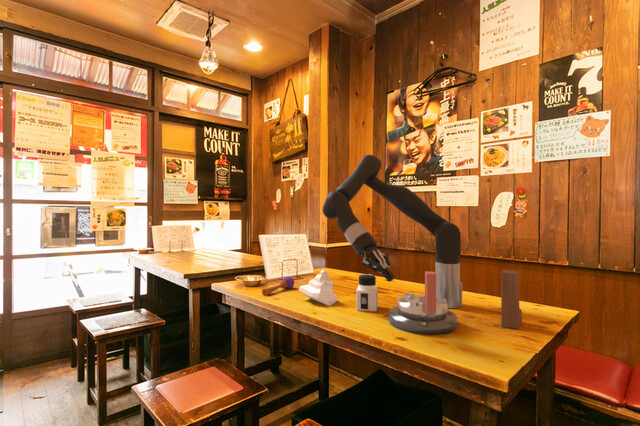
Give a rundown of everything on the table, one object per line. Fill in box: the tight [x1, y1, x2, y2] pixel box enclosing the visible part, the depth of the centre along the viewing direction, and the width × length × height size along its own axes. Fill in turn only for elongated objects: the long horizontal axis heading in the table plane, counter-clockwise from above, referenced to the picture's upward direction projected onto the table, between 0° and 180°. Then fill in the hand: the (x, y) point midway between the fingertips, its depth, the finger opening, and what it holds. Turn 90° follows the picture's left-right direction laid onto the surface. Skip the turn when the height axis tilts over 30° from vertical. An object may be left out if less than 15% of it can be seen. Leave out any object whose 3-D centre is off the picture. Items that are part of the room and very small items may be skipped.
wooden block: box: [500, 269, 523, 330], centre depth 111 cm, size 9×4×18 cm, turn 140°
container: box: [355, 273, 379, 312], centre depth 130 cm, size 8×8×13 cm
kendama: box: [261, 276, 295, 297], centre depth 158 cm, size 6×6×20 cm
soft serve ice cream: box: [298, 269, 339, 307], centre depth 140 cm, size 12×15×14 cm
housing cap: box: [388, 305, 458, 336], centre depth 112 cm, size 22×22×3 cm
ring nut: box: [397, 271, 448, 321], centre depth 108 cm, size 26×16×16 cm, turn 172°
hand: (391, 279), depth 105 cm, fingers closed
